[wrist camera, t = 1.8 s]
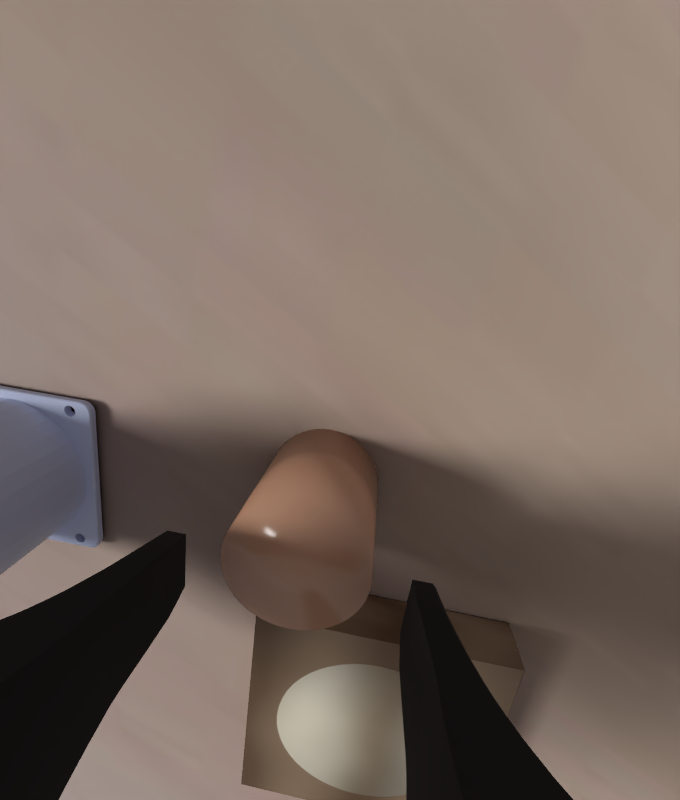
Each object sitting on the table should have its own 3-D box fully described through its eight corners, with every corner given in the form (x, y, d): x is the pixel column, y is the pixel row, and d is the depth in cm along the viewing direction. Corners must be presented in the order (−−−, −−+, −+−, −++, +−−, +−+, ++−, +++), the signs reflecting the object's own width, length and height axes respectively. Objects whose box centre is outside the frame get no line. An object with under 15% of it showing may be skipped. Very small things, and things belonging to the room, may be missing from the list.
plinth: (255, 734, 24) (240, 784, 22) (271, 575, 21) (256, 615, 18) (454, 780, 23) (461, 838, 21) (508, 623, 20) (525, 671, 17)
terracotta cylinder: (267, 515, 20) (217, 613, 14) (276, 420, 18) (223, 488, 12) (368, 534, 19) (359, 643, 14) (386, 439, 18) (384, 518, 12)
